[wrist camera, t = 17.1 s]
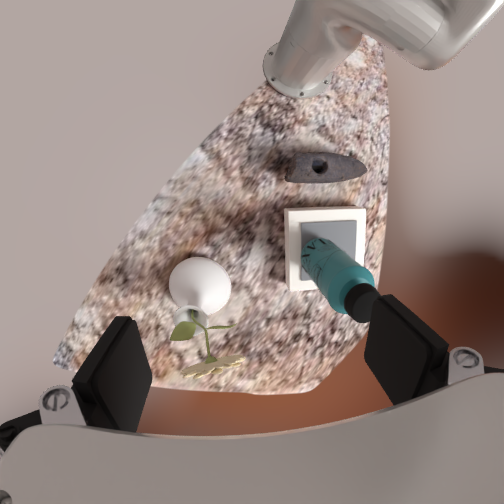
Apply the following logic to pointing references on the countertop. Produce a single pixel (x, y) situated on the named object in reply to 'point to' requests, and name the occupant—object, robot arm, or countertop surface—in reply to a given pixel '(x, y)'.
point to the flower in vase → (200, 308)
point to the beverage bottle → (340, 279)
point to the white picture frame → (321, 225)
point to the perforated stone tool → (323, 168)
